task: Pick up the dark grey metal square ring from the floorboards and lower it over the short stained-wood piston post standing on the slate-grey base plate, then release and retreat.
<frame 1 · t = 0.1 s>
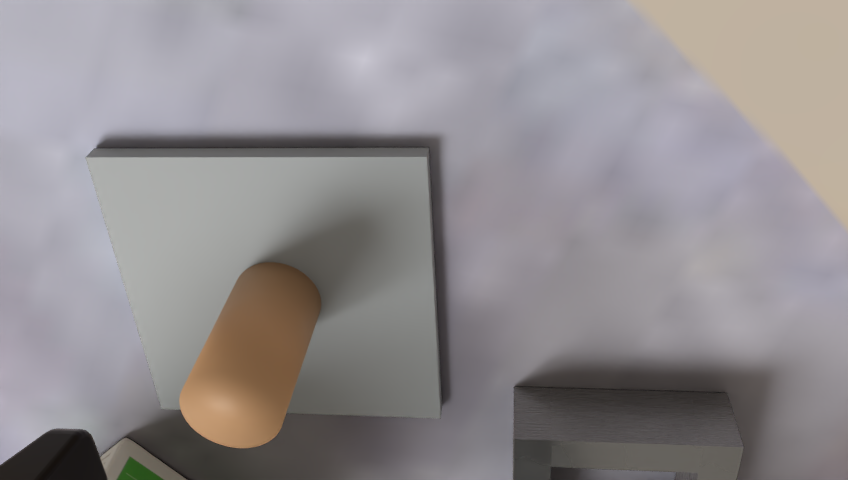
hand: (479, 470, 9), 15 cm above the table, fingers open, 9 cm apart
piston base: (282, 287, 26), on the table
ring: (611, 462, 29), on the table
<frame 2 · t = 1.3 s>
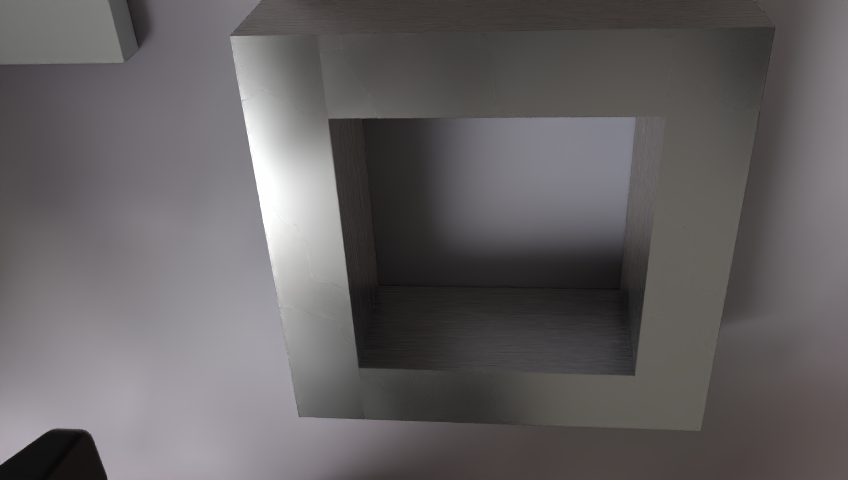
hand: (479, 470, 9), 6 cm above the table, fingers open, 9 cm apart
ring: (497, 181, 14), on the table
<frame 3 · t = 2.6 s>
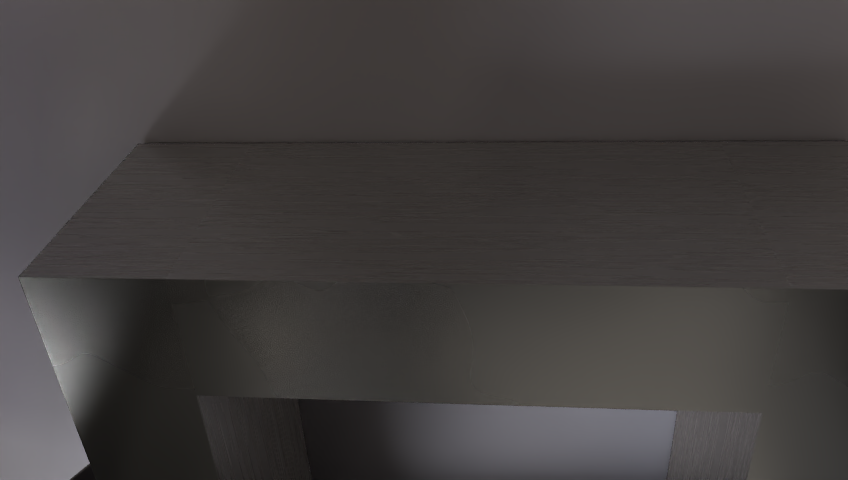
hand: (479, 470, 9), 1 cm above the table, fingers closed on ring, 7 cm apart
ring: (482, 404, 10), on the table, touching gripper
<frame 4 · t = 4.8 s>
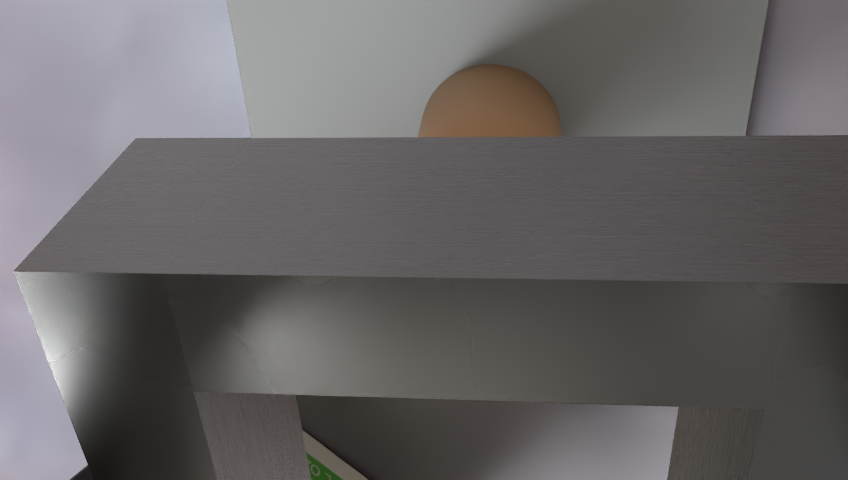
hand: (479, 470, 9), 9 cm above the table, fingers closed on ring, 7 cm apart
piston base: (491, 118, 17), on the table
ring: (482, 401, 10), point 8 cm above the table, touching gripper
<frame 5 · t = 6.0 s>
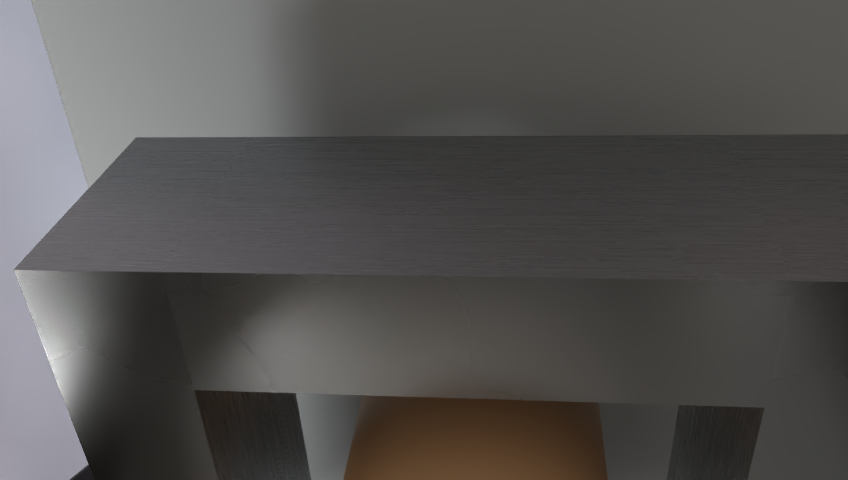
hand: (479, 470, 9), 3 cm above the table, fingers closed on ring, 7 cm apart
piston base: (485, 303, 11), on the table
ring: (482, 400, 10), point 2 cm above the table, touching gripper
when the fingers open (2 cm above the table, at t = 7.1 s): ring stays where it is, resting on piston base.
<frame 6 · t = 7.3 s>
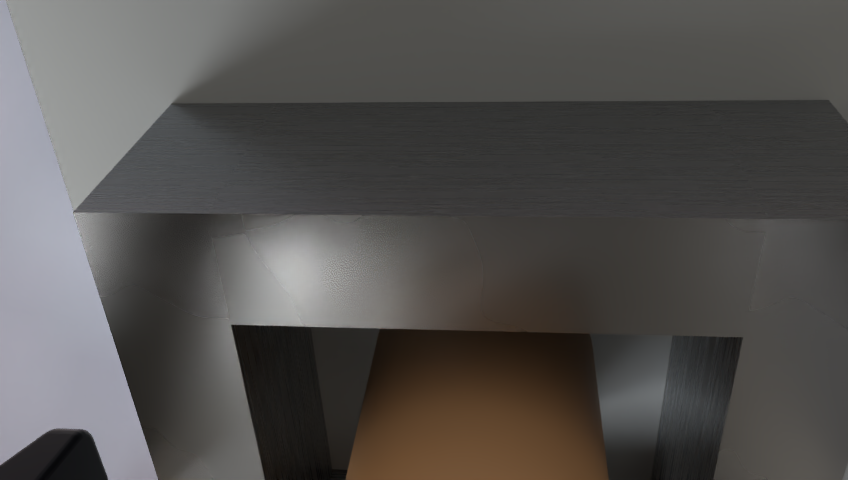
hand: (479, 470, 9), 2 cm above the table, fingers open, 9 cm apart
piston base: (485, 327, 11), on the table
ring: (487, 353, 11), point 1 cm above the table, touching piston base
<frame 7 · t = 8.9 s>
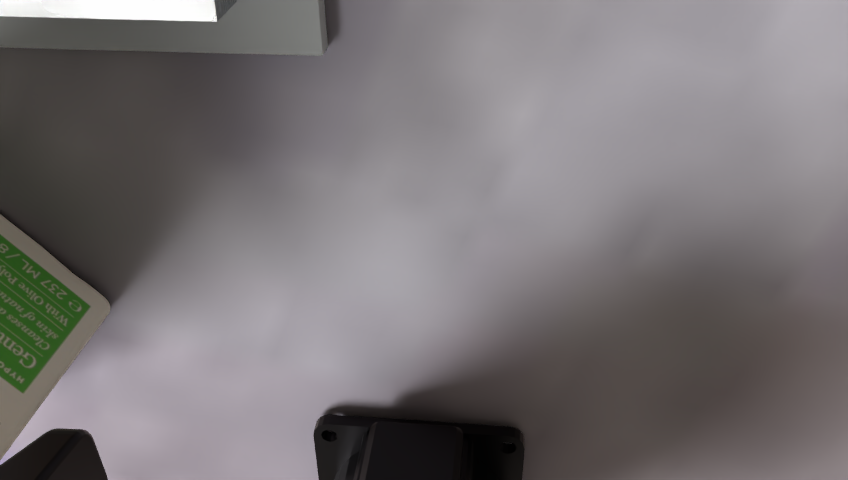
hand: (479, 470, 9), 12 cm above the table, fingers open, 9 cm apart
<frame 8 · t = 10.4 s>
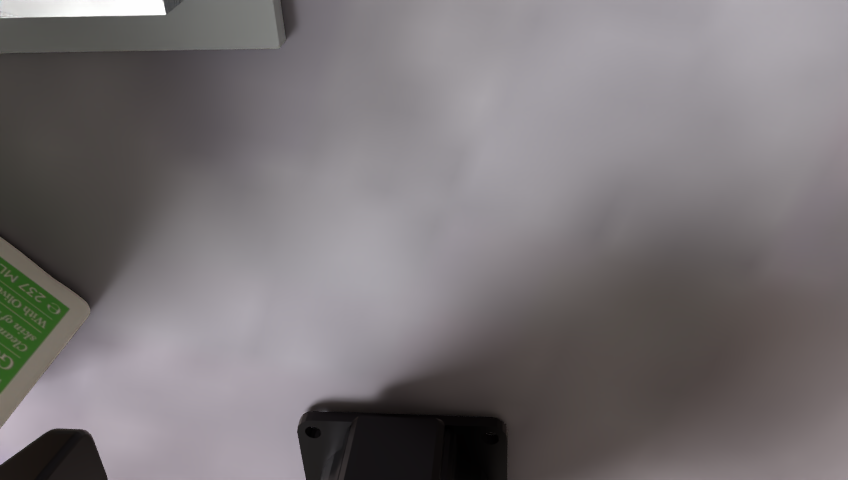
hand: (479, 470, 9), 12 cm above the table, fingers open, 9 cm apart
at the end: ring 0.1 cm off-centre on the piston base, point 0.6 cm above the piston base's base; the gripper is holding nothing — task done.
